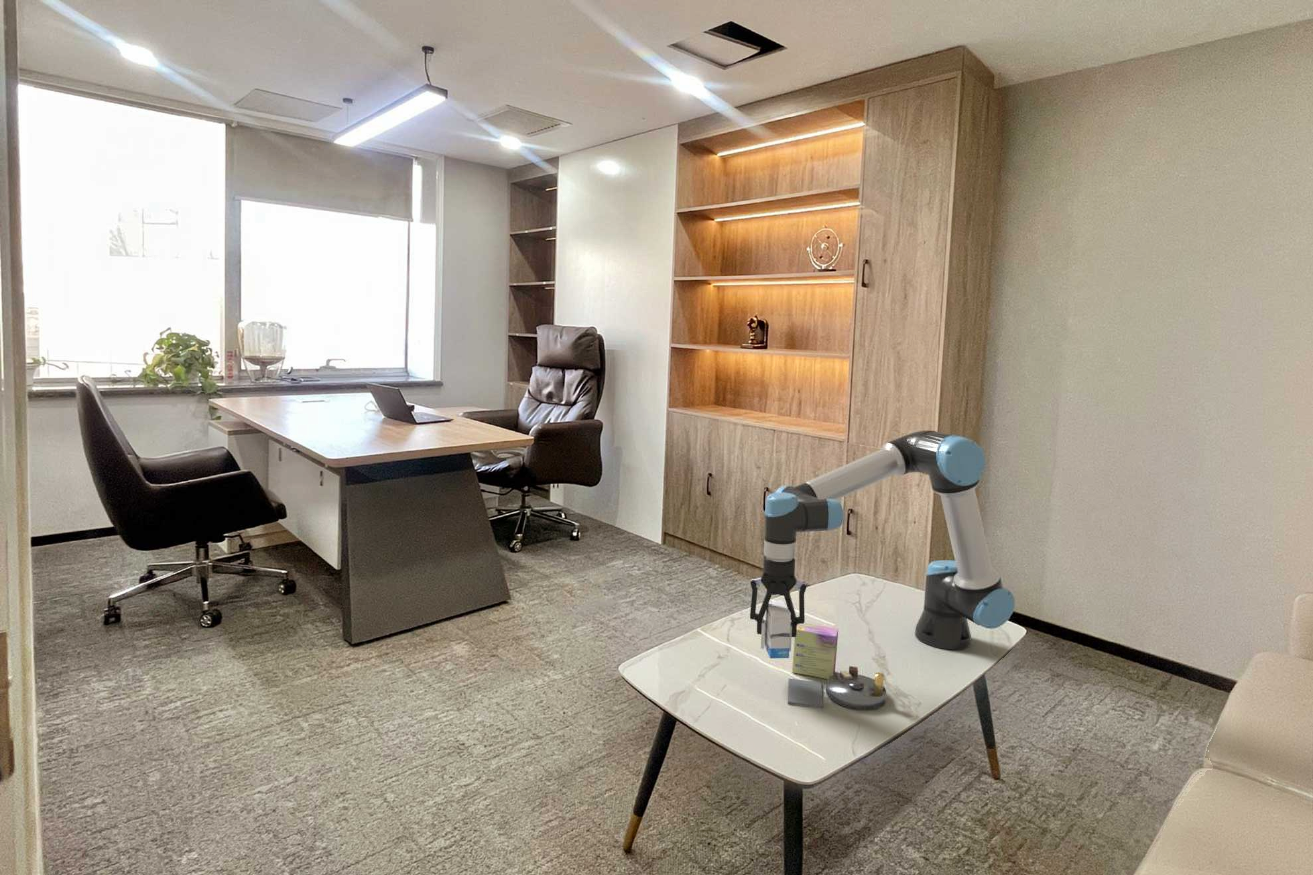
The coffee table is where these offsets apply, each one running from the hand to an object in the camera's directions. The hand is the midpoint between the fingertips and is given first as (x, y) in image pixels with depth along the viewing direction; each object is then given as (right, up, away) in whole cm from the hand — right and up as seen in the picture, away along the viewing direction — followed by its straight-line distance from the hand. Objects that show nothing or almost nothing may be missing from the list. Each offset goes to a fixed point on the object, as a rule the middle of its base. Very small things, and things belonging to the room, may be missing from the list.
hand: (776, 647), depth 182 cm
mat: (+6, -10, -3) cm, 13 cm away
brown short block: (+20, -10, +5) cm, 23 cm away
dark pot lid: (+19, -11, -3) cm, 22 cm away
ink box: (0, -1, 0) cm, 1 cm away
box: (+11, -9, +9) cm, 17 cm away
